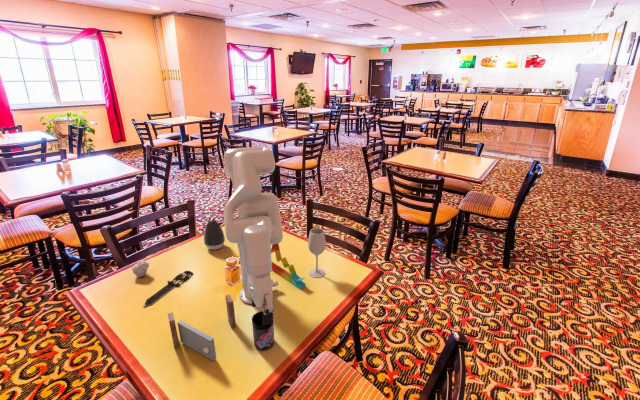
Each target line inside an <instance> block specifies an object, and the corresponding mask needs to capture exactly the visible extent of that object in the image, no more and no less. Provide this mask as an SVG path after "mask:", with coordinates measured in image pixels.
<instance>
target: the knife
mask: <svg viewBox="0 0 640 400" xmlns="http://www.w3.org/2000/svg"><path fill="white" fill-rule="evenodd" d="M184 274H186V275H184ZM193 275H194V273H193V272H192V271H190V270H185V271H184V272H181V273H179V274H177V275H176V276H175V277H173V279H172V280H167V284H166V285H164V286H163V287H162V288H160V289H159V290H158V291H157V292H155V293H154V294H152V295H151V296H150V297H148V298H146V301H145V302H144V305H143V307H142V308H146V307H150V306H152V305H154V303H157V302H158V301H159V300H160V299H161V298H163V297H164V296H165V295H167V294H169V292H171V291H172V290H173V289H175V288H177V287H180V286H181V282H186V281H187V280H189V279H190V276H193ZM181 276H182V277H181ZM177 279H178V282H176V283H174V281H175V280H177Z"/></svg>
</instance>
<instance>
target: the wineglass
mask: <svg viewBox="0 0 640 400" xmlns="http://www.w3.org/2000/svg"><path fill="white" fill-rule="evenodd" d="M308 234H309V235H308V241H307V245H308V250H309V251H310V253H311V254H313V255H314V256H315V268H312V269H310V270H309V271H308V275H309V276H310V277H311V278H313V279H314V278H315V279H319V278H323V277H324V276H325V274H326V272H325V270H324V269H322V268H318V267H319V266H318V265H319V264H318V261H319V260H318V259H319V256H320V255H321V254H323V252H324V251H325V250H326V247H327V246H326V245H327V242H326V241H327V240H326V235H325V229H323V228H319V227H314V228H311V229H310V230H309V233H308Z"/></svg>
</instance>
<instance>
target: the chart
mask: <svg viewBox="0 0 640 400" xmlns="http://www.w3.org/2000/svg"><path fill="white" fill-rule="evenodd" d="M279 244H280V243H278V244H273V245H271V254H273V253H274V254H275V258H276V262H277V263H278V262H281V264H282V266H283V268H282V267H281V266H279V265H278V264H277V263H275V262H273V261H272V271H271V272H273V273H275V274H276V275H278V276H280V277H281V278H283V279H284V280H285V281H287V282H288V283H289V284H291V285H292V286H295V287H296V288H297V289H299V290H302V289H304V288H305V287H306V282H304V281H303V280H304V279H305V277H300V276H299V275H298V274H297V272H296V268H295V267H294V264H289V261H288V259H287V257H286V256H285V257H282V254H281V249H280V245H279ZM286 268H288V270H285V269H286ZM288 271H289V272H288Z"/></svg>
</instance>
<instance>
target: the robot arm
mask: <svg viewBox="0 0 640 400" xmlns="http://www.w3.org/2000/svg"><path fill="white" fill-rule="evenodd" d="M275 160H276V159H275V156H274V154H273V151H272V150H271V149H270V148H269V147H267V146H253V147H250V146H249V147H236V148H234V147H233V148H230V149H228V150H226V151H225V152H224V154H223V161H224V162H223V163H224V167H225V170H226V172H227V174H228V176H229V178H230V181H231V182H232V185H233V190H234V192H233V193H232V194H231V196H229V198H228V199H227V201H226V204H225V206H224V211H223V221H224V222H223V224H224V231H225V237H226V239H227V241H228V242H229V243H231V244H237V248H238V252H239V253H238V255H239V263H240V272H241V283H242V285H241V286H242V288H241V289H240V291H239V296H238V297H239V299H240V301H242V302H243V303H246V304H249V305H251V306H252V308H255V307H256V308H261V309H262V310H261V311H263V313H262V320H263V325H266V324H269V323H272V322H273V323H274V305H273V301H274V300H273V299H274V298H273V297H274V295H273V288H274V287H278V286H279V281H278V280H275V281H274V279H272V277H271V272H273V271H272V262H273V261H272V253H271V248H272V245H273V244H280V243H281V242H282V241H283V237H284V235H283V234H284V233H283V226H282V219H281V218H282V217H281V213H280V205H279V200H278V197H277V196H276V195H275V194H274V193H273V192H262V190H263V189H262V188H263V187H262V183H261V182H262V181H261V177H260V175H263V174H272V173H274V171H275V168H276V161H275ZM235 211H236V213H237V216H238V217H236V218H234V212H235ZM264 302H265V303H264ZM265 306H267V309H266V308H265Z"/></svg>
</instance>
